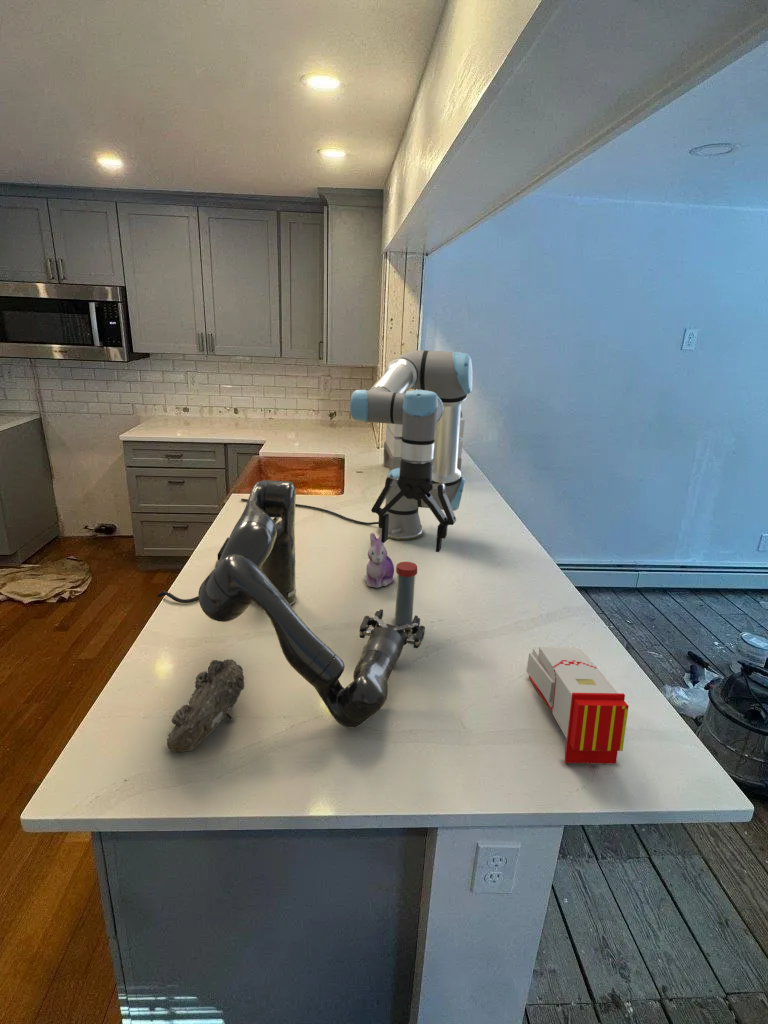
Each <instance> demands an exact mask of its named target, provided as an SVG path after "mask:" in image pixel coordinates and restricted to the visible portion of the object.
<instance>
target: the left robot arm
mask: <svg viewBox="0 0 768 1024" xmlns="http://www.w3.org/2000/svg"><path fill="white" fill-rule="evenodd" d="M296 492H297V491H296V486H295V484H294V483H293V482H292V481H289V480H267V479H264V480H258V481H257V482H255V483H254V485H253V486H252V488H251V490H250V493H249V496H248V501H246V502H247V503H246V504H245V507H244V510H243V511H242V513H241V515H240V517H239V519H238V520H237V521H236V523H235V525H234V527H233V529H232V530H231V532H230V535H229V537H228V538H229V539H228V541H227V543H226V546H225V548H224V550H223V552H222V555H221V557H220V560H219V562H218V564H217V565H216V567H215V566H214V568H213V569H212V571H211V572H210V573H209V575H207V576H206V578H205V579H204V580H203V582H201V584H200V586H199V589H198V595H197V596H195V597H192V598H186V599H185V598H184V599H183V598H179V597H177V596H176V595H174V594H172V593H171V592H169V591H165V590H164V591H160V592H159V593H158V594H157V595H156V598H161V597H163V596H166V595H167V597H168V598H170V599H171V600H173V601H175V602H176V603H178V604H179V603H180V604H191V603H194V602H197V601H198V603H199V606H200V608H201V610H202V612H203V613H204V614H205V616H207V617H208V618H209V619H211V620H213V621H216V622H220V623H227V622H231V621H234V620H235V619H237V618H238V617H240V616H241V615H243V614H244V612H245V611H246V610H247V609H248V608H249V607H250V606H251V605H252V604H253V603H255V604H256V605H257V606H258V607H259V608H260V609H262V610H263V612H264V613H265V614H266V615H267V617H268V619H269V620H270V622H271V624H272V627H273V628H274V632H275V634H276V637H277V641H278V643H279V646H280V650H281V652H282V654H283V656H284V658H285V660H286V661H287V663H288V664H289V665H290V666H291V668H293V670H294V671H295V672H296V673H297V674H299V675H300V676H301V677H302V678H303V679H304V680H305V681H306V682H308V683H309V684H310V685H311V686H312V687H313V688H314V689H315V690H316V692H317V694H318V695H319V697H320V699H321V700H322V701H323V703H324V705H325V706H326V708H327V710H328V712H329V714H330V715H331V716H332V718H333V719H334V720H335V721H336V723H338V724H339V725H342V726H343V727H346V728H348V729H356V728H358V727H360V726H361V725H362V724H364V723H366V721H367V720H369V719H370V718H371V717H373V716H374V715H376V713H379V711H380V710H381V709H383V707H384V705H385V704H386V702H387V700H388V694H389V690H388V689H389V680H390V677H391V675H392V673H393V671H394V669H395V668H396V666H397V663H398V662H399V659H400V657H401V654H402V651H403V649H404V646H406V645H412V646H413V647H412V648H414V649H416V650H418V649H419V648H420V646H421V644H422V642H423V640H424V637H425V629H426V627H425V626H424V625H421V618H420V617H419V615H414V616H413V618H412V624H410V625H408V624H405V625H402V626H397V625H393V624H389V623H385V622H384V621H383V617H384V609H382V608H379V610H377V611H376V612H375V613H374V614H373V616H372V617H370V616H369V615H365V616H364V617H363V619H362V621H361V623H360V626H359V633H358V634H359V635H358V638H360V639H364V638H366V637H369V638H368V640H367V642H366V644H365V645H364V646H363V650H362V652H361V655H360V658H359V660H358V661H357V663H356V665H355V668H354V670H353V676H352V677H353V681H351V682H350V683H349V684H348V685H346V687H344V686H343V685H342V684H341V682H340V680H339V679H340V678H341V676H342V674H343V673H344V671H345V667H346V665H345V662H344V660H343V659H342V658H341V657H340V656H339V655H338V654H336V652H334V650H332V649H331V648H330V647H329V646H328V645H327V644H326V643H325V642H323V641H322V639H320V638H319V637H318V636H317V635H316V634H315V633H314V632H313V631H312V630H311V629H310V628H309V626H308V625H306V624H305V622H304V621H303V620H302V619H301V618H300V616H299V615H298V614H297V613H296V611H295V610H294V608H293V607H292V606H293V605H294V604H295V603H296V602H297V588H296V586H297V585H296V506H295V504H297V503H296V501H297V499H296V498H297V493H296ZM273 518H277V519H280V521H277V522H275V523H274V522H273ZM168 592H169V593H168ZM370 626H371V627H372V629H371V630H370Z"/></svg>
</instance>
